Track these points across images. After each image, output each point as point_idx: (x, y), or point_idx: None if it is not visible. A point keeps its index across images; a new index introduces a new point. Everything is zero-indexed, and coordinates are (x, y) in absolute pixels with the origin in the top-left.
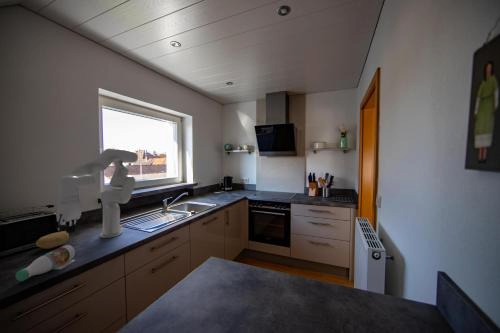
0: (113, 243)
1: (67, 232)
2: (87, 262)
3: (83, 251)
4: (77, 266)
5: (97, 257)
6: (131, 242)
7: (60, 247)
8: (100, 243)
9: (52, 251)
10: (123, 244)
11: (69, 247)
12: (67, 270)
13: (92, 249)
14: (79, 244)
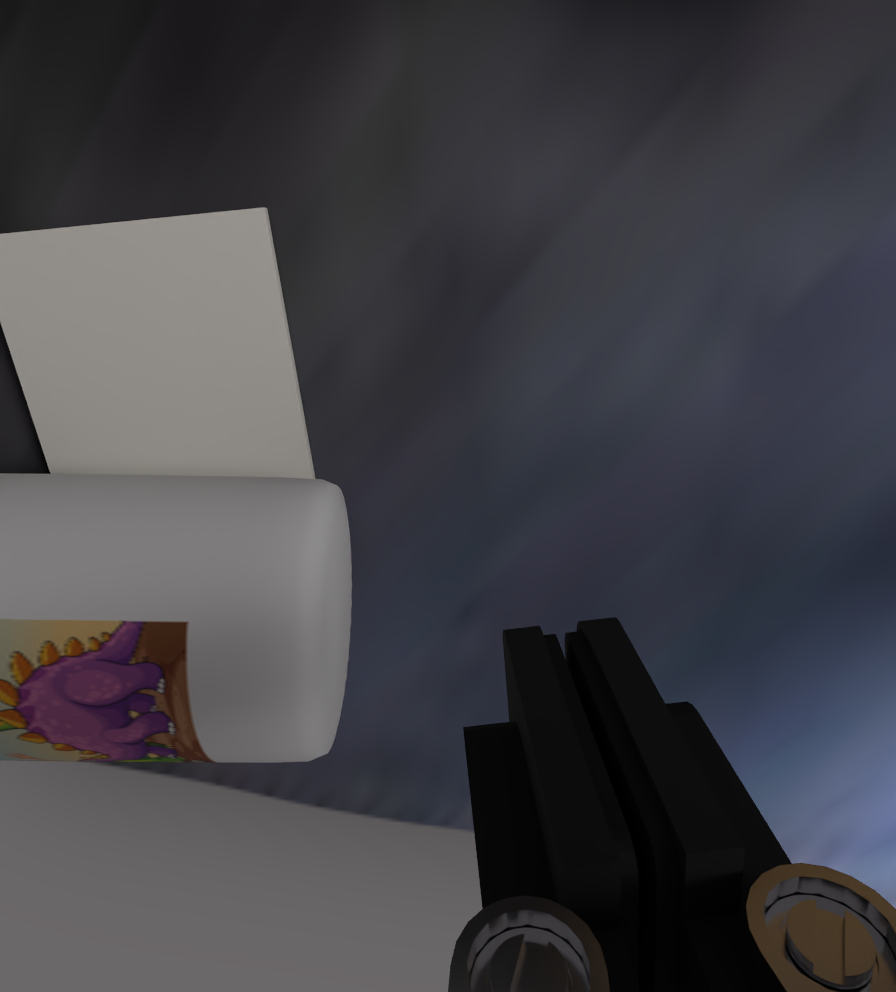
0: (869, 706)
1: (508, 662)
2: (336, 809)
3: (606, 522)
4: (235, 786)
5: (462, 816)
6: (881, 878)
7: (178, 667)
8: (888, 534)
9: (1, 680)
10: (825, 836)
11: (270, 757)
12: (135, 763)
13: (675, 590)
14: (880, 203)
